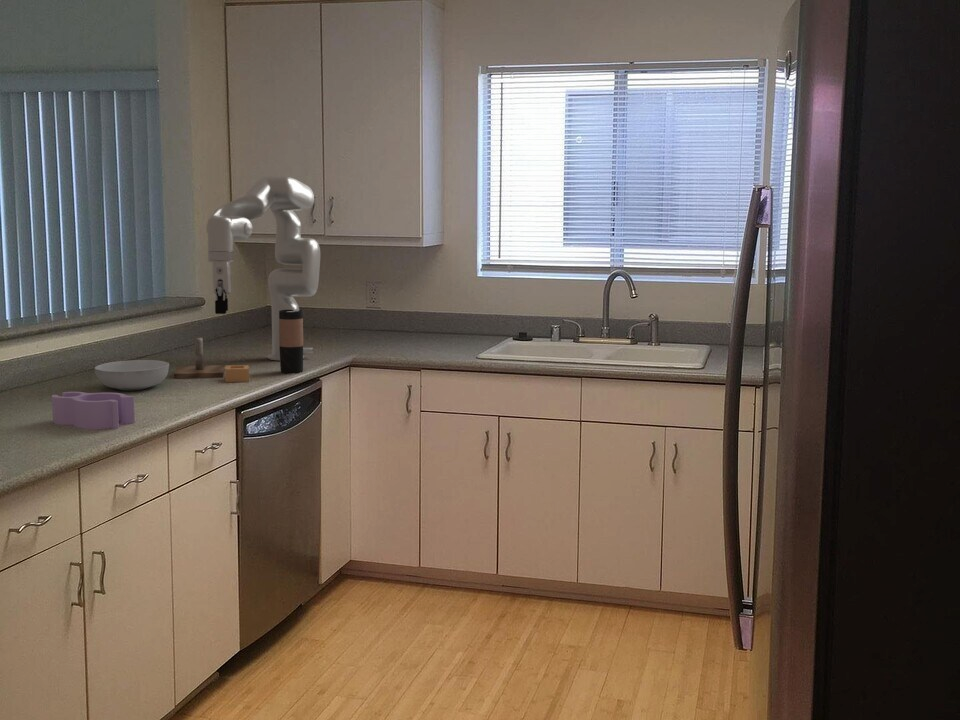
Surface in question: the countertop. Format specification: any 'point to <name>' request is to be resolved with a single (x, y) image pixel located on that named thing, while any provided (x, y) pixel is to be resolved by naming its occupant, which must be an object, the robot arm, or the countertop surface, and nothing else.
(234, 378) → the collar
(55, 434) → the countertop surface
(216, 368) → the post stand
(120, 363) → the serving bowl
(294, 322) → the travel mug
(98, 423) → the clip
